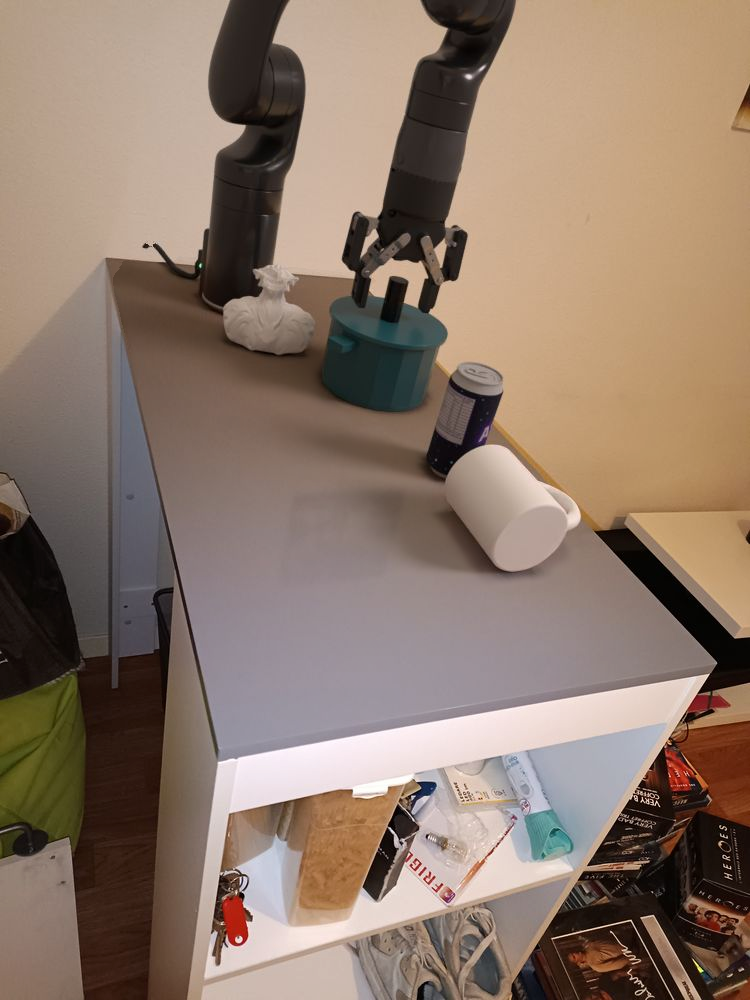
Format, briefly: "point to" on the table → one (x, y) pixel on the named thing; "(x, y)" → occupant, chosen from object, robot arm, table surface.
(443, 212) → the robot arm
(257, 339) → the white tied bag
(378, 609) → the table surface
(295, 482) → the table surface
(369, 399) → the pot
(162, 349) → the table surface
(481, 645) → the table surface
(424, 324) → the lid
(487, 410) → the beverage can
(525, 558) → the mug
